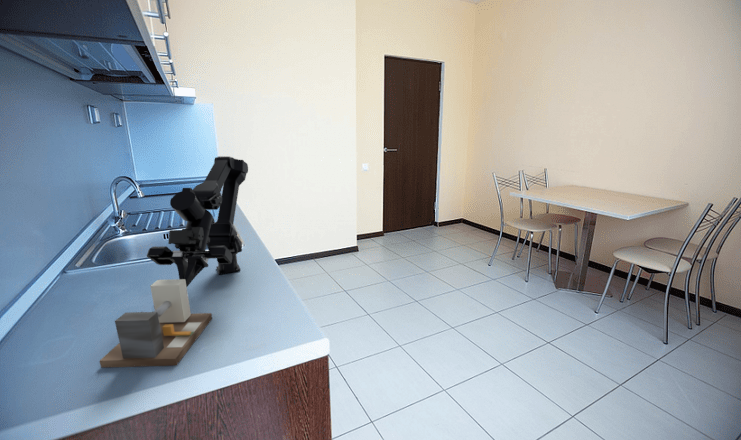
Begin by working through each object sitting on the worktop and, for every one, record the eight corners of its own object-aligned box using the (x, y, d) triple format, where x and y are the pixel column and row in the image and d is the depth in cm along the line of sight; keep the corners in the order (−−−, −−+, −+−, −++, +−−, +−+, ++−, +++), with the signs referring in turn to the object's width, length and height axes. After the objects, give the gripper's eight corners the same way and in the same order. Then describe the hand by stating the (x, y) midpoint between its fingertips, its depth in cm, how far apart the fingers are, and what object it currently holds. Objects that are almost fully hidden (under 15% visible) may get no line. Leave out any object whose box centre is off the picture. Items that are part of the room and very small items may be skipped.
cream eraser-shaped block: (164, 315, 78) (158, 279, 76) (190, 314, 78) (185, 279, 76) (146, 333, 71) (138, 294, 69) (175, 332, 72) (168, 293, 69)
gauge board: (151, 320, 80) (144, 283, 78) (212, 318, 81) (207, 282, 78) (101, 367, 64) (90, 323, 62) (176, 365, 65) (168, 321, 62)
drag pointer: (166, 333, 71) (164, 324, 71) (191, 332, 72) (190, 323, 71) (163, 336, 70) (162, 327, 70) (189, 335, 71) (187, 326, 70)
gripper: (144, 215, 81) (122, 277, 73) (223, 214, 82) (209, 275, 74) (167, 236, 91) (149, 293, 83) (237, 235, 92) (227, 291, 84)
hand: (183, 288), depth 81 cm, fingers closed
